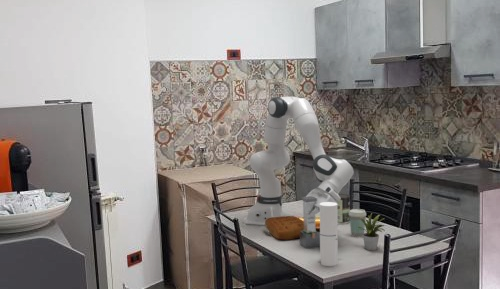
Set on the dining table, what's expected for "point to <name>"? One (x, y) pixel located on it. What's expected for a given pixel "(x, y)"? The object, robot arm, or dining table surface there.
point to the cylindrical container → (328, 234)
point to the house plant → (371, 233)
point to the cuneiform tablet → (285, 227)
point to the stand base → (309, 240)
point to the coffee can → (343, 209)
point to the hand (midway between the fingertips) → (308, 214)
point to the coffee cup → (357, 222)
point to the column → (308, 214)
